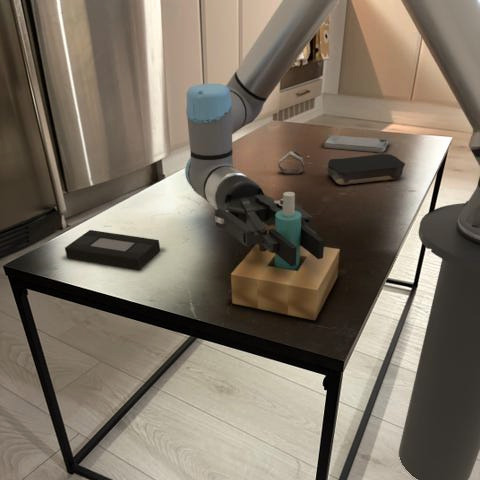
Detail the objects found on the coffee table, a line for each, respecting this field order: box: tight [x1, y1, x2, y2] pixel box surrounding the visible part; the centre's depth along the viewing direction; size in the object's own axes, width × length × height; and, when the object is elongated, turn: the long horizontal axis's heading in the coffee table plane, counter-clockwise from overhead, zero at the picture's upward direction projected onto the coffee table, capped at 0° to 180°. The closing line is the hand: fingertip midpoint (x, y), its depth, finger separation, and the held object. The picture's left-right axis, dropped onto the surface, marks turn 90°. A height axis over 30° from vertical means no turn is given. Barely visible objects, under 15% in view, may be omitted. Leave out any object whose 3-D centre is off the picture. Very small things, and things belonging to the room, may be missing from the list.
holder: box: [230, 244, 341, 321], centre depth 75 cm, size 13×13×5 cm
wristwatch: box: [277, 150, 305, 175], centre depth 119 cm, size 4×6×5 cm, turn 93°
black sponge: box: [326, 153, 406, 186], centre depth 115 cm, size 16×8×4 cm, turn 101°
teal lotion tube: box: [274, 191, 301, 271], centre depth 72 cm, size 4×4×14 cm
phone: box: [323, 134, 389, 154], centre depth 136 cm, size 8×16×1 cm, turn 67°
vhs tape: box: [64, 229, 161, 271], centre depth 87 cm, size 8×14×2 cm, turn 70°
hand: (307, 253), depth 68 cm, fingers closed on teal lotion tube, 4 cm apart
